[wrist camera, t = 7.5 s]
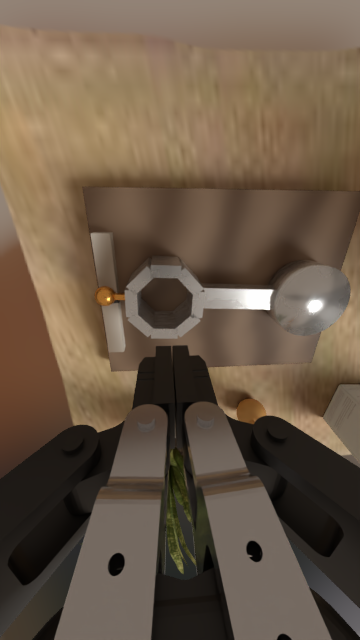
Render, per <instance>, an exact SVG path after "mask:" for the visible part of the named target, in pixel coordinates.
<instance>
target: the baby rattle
mask: <svg viewBox="0 0 360 640" xmlns="http://www.w3.org/2000/svg"><path fill="white" fill-rule="evenodd" d="M153 278H178V279H179V280H180V281H181V282H182V284H183V285H184V286H185V287H186V288H187V298H186V300H185V301H184V302H183V303H182V304H180V305H179V306H178V307H177V308H176V309H175V310H174V311H154V310H153V309H152V308H151V307H150V306H149V305H148V304H147V303H146V302H145V301H144V300H143V299H142V298H141V289H142V288H143V287H145V286H146V285H147V284H148V283H149V282H150V281H151V280H152V279H153ZM349 298H350V284H349V281H348V279H347V277H346V276H345V275H344V274H343V273H342V272H341V271H340V270H338V269H336V268H333V267H330V266H327V265H324V264H321V263H318V262H314V261H311V260H298V261H294V262H291V263H289V264H287V265H285V266H283V267H282V268H281V269H279V270H278V271H277V272H276V273H275V274H274V275H273V276H272V278H271V279H270V281H269V282H268V284H267V285H242V284H206V283H200V281H199V279H198V277H197V276H196V275H195V274H194V273H193V271H192V270H191V269H190V268H189V267H188V266H187V265H186V264H185V262H184V261H183V260H182V259H181V258H180V259H178V257H170V256H152V259H151V258H150V257H149V258H148V259H147V260H146V261H145V262H144V263H143V264H142V265H140V266H139V267H138V268H137V269H136V270H135V271H134V272H133V273H132V274H131V277H130V279H129V281H128V283H127V285H126V288H125V293H115V292H114V290H113V289H112V288H110V287H108V286H102V287H99V288H98V289H97V290H96V292H95V300H96V302H97V303H98V304H100V305H102V306H109V305H111V304H113V303H114V301H115V300H125V307H126V317H128V321H129V322H130V323H132V324H133V325H134V326H135V327H136V328H137V329H139V330H140V331H141V332H142V333H143V334H144V335H146V336H147V337H149V336H150V335H151V338H152V339H177V338H178V336H180V337H182V336H183V335H184V334H185V333H187V332H188V331H189V330H190V329H192V328H193V327H194V326H195V325H196V324H198V323H199V322H200V318H202V316H203V308H209V309H266V311H267V312H268V314H269V315H270V316H271V317H272V318H273V319H274V320H275V321H276V322H277V323H278V324H279V325H280V326H281V327H283V328H284V329H285V330H286V331H287V332H289V333H291V334H294V335H298V336H308V335H313V334H316V333H319V332H321V331H323V330H325V329H327V328H328V327H330V326H331V325H332V324H334V323H335V322H336V321H337V320H338V319H339V317H340V316H341V315H342V314H343V312H344V310H345V309H346V307H347V305H348V302H349Z"/></svg>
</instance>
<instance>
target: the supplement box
mask: <svg viewBox="0 0 360 640" xmlns="http://www.w3.org/2000/svg"><path fill="white" fill-rule="evenodd" d="M323 419H324V420H325V421H326V422H327V424H328V425H329V426H330V427H331V429H332V430H333V431H334V432H335V434H336V435H337V436H338V437H339V439H340V440H341V441H342V442H343V444H344V445H345V446H346V447H347V449H348V450H349V451H350V452H351V454H352V455H353V456H354V457H355V459H356V460H357V461H358V462H359V464H360V384H340V385H339V386H338V388H337V390H336V392H335V394H334V396H333V398H332V400H331V402H330V404H329V406H328V408H327V410H326V412H325V414H324V416H323Z"/></svg>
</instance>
